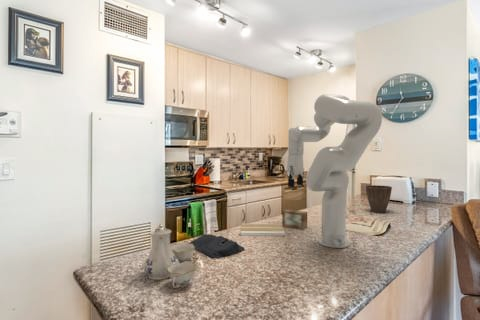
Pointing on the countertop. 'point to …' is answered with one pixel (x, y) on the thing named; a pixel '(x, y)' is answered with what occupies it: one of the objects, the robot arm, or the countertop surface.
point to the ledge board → (262, 230)
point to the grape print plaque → (365, 225)
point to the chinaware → (169, 259)
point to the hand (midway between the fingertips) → (295, 185)
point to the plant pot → (378, 197)
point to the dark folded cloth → (216, 246)
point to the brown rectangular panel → (294, 219)
